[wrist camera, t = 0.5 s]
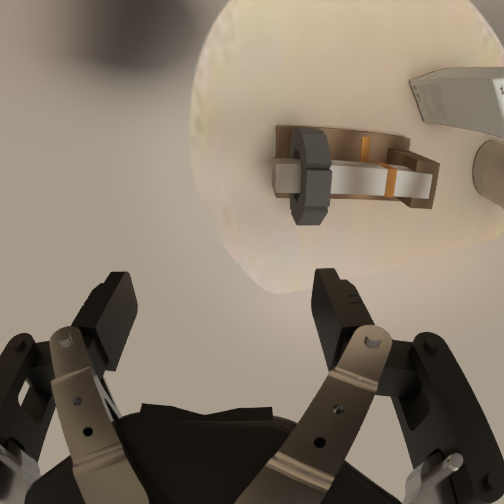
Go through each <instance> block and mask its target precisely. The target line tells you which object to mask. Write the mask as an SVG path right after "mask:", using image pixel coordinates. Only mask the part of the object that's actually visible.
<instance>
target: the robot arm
mask: <svg viewBox="0 0 504 504" xmlns="http://www.w3.org/2000/svg"><path fill="white" fill-rule="evenodd" d="M473 178H474V184H475V186H476V189H477V191H478V192H479V193H480V194H481V195H482V196H484V197H486V198H487V199H489V200H491V201H492V202H494V203H496V204H497V205H499V206H500V207H502V208H503V209H504V144H502V143H499V142H496V141H488V142H486V143H485V144H484V145H483V146H482V147H481V148H480V149H479V151H478V153H477V156H476V158H475V162H474V168H473ZM311 309H312V315H313V318H314V321H315V325H316V328H317V331H318V335H319V338H320V342H321V346H322V349H323V352H324V356H325V359H326V363H327V367H328V370H329V374H328V376H327V377H326V379H325V381H324V383H323V384H322V386H321V388H320V389H319V391H318V392H317V394H316V396H315V398H314V399H313V400H312V402H311V404H310V405H309V407H308V409H307V410H306V411H305V413H304V415H303V416H302V418H301V419H300V421H299V422H298V423H296V422H294V421H291V420H289V419H286V418H282V417H278V416H273V412H272V407H260V408H237V409H232V410H228V411H223V412H218V413H213V414H208V415H202V414H198V413H194V412H190V411H187V410H183V409H180V408H177V407H173V406H164V405H153V404H144V403H142V406H141V410H140V412H137V413H133V414H129V415H126V416H123V417H122V416H121V414H120V412H119V410H118V408H117V406H116V403H115V401H114V399H113V397H112V394H111V392H110V390H109V387H108V385H107V383H106V381H105V378H104V376H103V375H104V372H105V370H108V371H116V368H117V365H118V363H119V360H120V357H121V354H122V351H123V349H124V346H125V344H126V341H127V338H128V336H129V333H130V330H131V328H132V325H133V323H134V320H135V318H136V315H137V310H138V305H137V299H136V296H135V292H134V288H133V284H132V281H131V277H130V274H129V273H128V272H111V273H110V274H109V276H108V277H107V279H106V281H105V282H104V283H101V284H99V285H98V286H97V287H96V288H94V289H93V290H92V292H91V293H90V295H89V296H88V299H87V300H86V301H85V303H84V306H82V308H81V309H80V311H79V313H78V314H77V316H76V318H75V319H74V321H73V323H72V325H71V326H67V327H63V328H61V329H59V330H57V331H56V332H55V333H54V334H53V335H52V336H51V338H50V341H45V342H39V343H35V341H34V339H33V337H32V336H31V335H30V334H28V333H21V334H18V335H16V336H14V337H13V338H12V339H11V340H10V341H9V342H8V344H7V345H6V347H5V349H4V350H3V352H2V354H1V355H0V504H491V503H493V502H495V501H497V500H498V499H500V497H502V496H503V494H504V460H503V457H502V454H501V452H500V449H499V447H498V445H497V442H496V440H495V437H494V435H493V433H492V430H491V428H490V426H489V424H488V421H487V419H486V417H485V415H484V413H483V411H482V409H481V406H480V404H479V402H478V401H477V399H476V396H475V394H474V392H473V390H472V388H471V387H470V385H469V383H468V381H467V379H466V377H465V375H464V373H463V372H462V370H461V368H460V366H459V364H458V363H457V361H456V359H455V357H454V356H453V354H452V352H451V351H450V349H449V347H448V345H447V344H446V342H445V341H444V340H443V339H442V338H441V337H440V336H438V335H437V334H434V333H431V332H423V333H419V334H418V335H417V336H416V337H415V339H414V341H413V342H406V341H397V340H393V339H392V338H391V336H390V334H389V333H388V332H387V331H386V330H384V329H383V328H381V327H378V326H375V324H374V322H373V320H372V318H371V316H370V314H369V312H368V310H367V309H366V307H365V305H364V303H363V301H362V299H361V297H360V296H359V293H358V291H357V289H356V287H355V286H354V285H353V284H351V283H350V282H349V281H348V280H340V278H339V276H338V274H337V272H336V270H335V269H334V268H323V269H316V270H315V275H314V283H313V291H312V298H311ZM25 380H26V382H27V383H28V384H29V386H30V387H29V389H28V392H27V394H26V396H25V398H24V400H23V403H22V405H21V406H20V405H19V402H18V395H19V393H20V390H21V388H22V386H23V384H24V382H25ZM375 395H381V396H391V399H392V402H393V405H394V408H395V410H396V414H397V417H398V420H399V423H400V426H401V429H402V432H403V435H404V439H405V442H406V445H407V448H408V452H409V455H410V459H411V462H412V465H413V469H414V470H413V471H412V472H411V473H410V474H409V476H408V477H407V480H406V484H405V485H406V486H405V488H406V495H405V499H404V501H403V503H401V502H400V501H399V500H398V499H397V498H395V497H394V496H393V495H391V494H390V493H388V492H387V491H385V490H384V489H382V488H381V487H380V486H378V485H377V484H375V483H374V482H373V481H371V480H370V479H369V478H367V477H366V476H365V475H363V474H362V473H361V472H359V471H358V470H357V469H355V468H354V467H353V466H351V465H350V464H349V463H348V462H346V461H345V458H346V456H347V454H348V452H349V450H350V448H351V446H352V444H353V442H354V440H355V438H356V436H357V434H358V432H359V430H360V427H361V425H362V423H363V421H364V419H365V416H366V414H367V412H368V410H369V407H370V405H371V403H372V400H373V398H374V396H375ZM55 407H56V408H57V412H58V416H59V419H60V423H61V427H62V430H63V433H64V436H65V440H66V443H67V446H68V449H69V452H70V456H68V457H67V458H66V459H64V460H63V461H62V462H60V463H59V464H58V465H56V466H55V467H54V468H52V469H51V470H50V471H48V472H47V473H46V474H44V475H43V476H41V475H40V470H39V466H38V464H37V463H38V460H39V456H40V453H41V449H42V446H43V442H44V440H45V436H46V433H47V430H48V427H49V424H50V421H51V418H52V416H53V413H54V410H55Z"/></svg>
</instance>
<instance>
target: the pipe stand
mask: <svg viewBox="0 0 504 504" xmlns="http://www.w3.org/2000/svg"><path fill="white" fill-rule="evenodd" d="M295 127H305V126H279V125H276V158H273V166H272V186H273V188H274V191H275V195H276V198H289V193H301V174H302V170H301V162H300V159H293V158H289V152H290V147H289V146H290V142H291V138H292V134H293V129H295ZM306 128H317V129H320V130H323V131H324V134H325V135H326V136H327V140H328V145H329V150H330V155H331V160H332V165H331V167H330V170H331V171H333V172H332V184H331V195H330V198H335V199H367V200H389V201H402V202H403V203H404V204H406V205H407V206H408V207H410V208H424V209H432V205H433V200H434V195H435V190H436V184H437V179H438V172H439V166H440V164H439V163H437V162H435V161H433V160H430V159H428V158H425V157H423V156H421V155H418V154H416V153H413V152H411V151H409V146H410V139H409V138H406V137H401V136H394V135H388V134H381V133H373V132H365V131H356V130H346V129H335V128H322V127H306Z"/></svg>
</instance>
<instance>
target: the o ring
mask: <svg viewBox="0 0 504 504" xmlns="http://www.w3.org/2000/svg"><path fill="white" fill-rule="evenodd" d="M289 147H290V152H289V158H293V159H300V162H301V170H302V174H301V193H289V199H290V209H291V214H292V216H293V219H294V221H295V223H296V225H320V224H321V222H322V221H323V219H324V217H325V216H326V214H327V213H328V209H327V207H329V205H330V195H331V184H332V172H333V171H331V170H330V167H331V165H332V160H331V155H330V150H329V145H328V140H327V136H326V135H325V134H324V131H323V130H320V129H317V128H306V127H295V129H293V134H292V138H291V142H290V146H289Z"/></svg>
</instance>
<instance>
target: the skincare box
mask: <svg viewBox="0 0 504 504" xmlns="http://www.w3.org/2000/svg"><path fill="white" fill-rule="evenodd" d="M410 84H411V87H412V90H413V92H414V95H415V97H416V100H417V103H418V107H419V109H420V112H421V115H422V119H423V121H425V122H429V123H436V124H442V125H447V126H453V127H458V128H463V129H468V130H473V131H477V132H482V133H486V134H490V135H494V136H498V137H502V138H504V67H462V68H446V69H442V70H439V71H436V72H433V73H430V74H427V75H424V76H421V77H419V78H416V79H413V80H410Z"/></svg>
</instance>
